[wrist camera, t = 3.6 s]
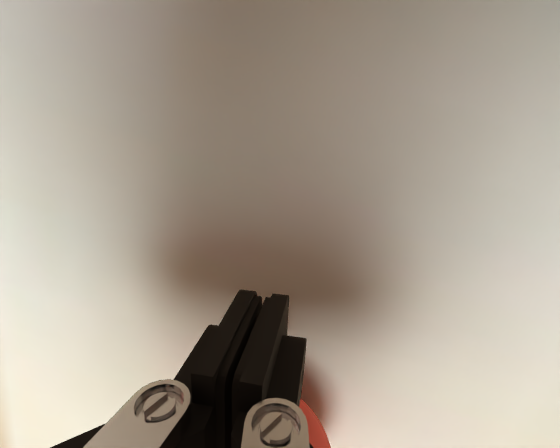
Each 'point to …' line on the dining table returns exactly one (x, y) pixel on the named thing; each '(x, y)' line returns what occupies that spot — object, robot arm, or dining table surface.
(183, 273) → the dining table surface
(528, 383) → the dining table surface
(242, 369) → the robot arm
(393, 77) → the dining table surface
